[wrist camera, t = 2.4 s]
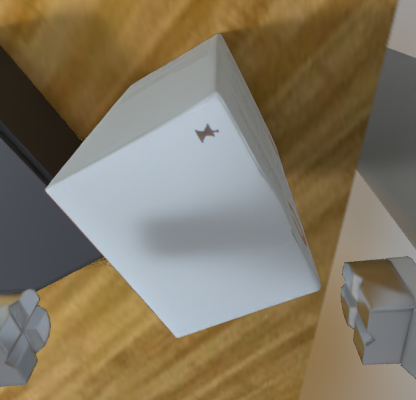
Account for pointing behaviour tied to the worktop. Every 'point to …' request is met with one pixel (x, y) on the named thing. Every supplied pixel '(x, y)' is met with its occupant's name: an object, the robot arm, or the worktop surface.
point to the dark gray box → (34, 188)
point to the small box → (190, 196)
